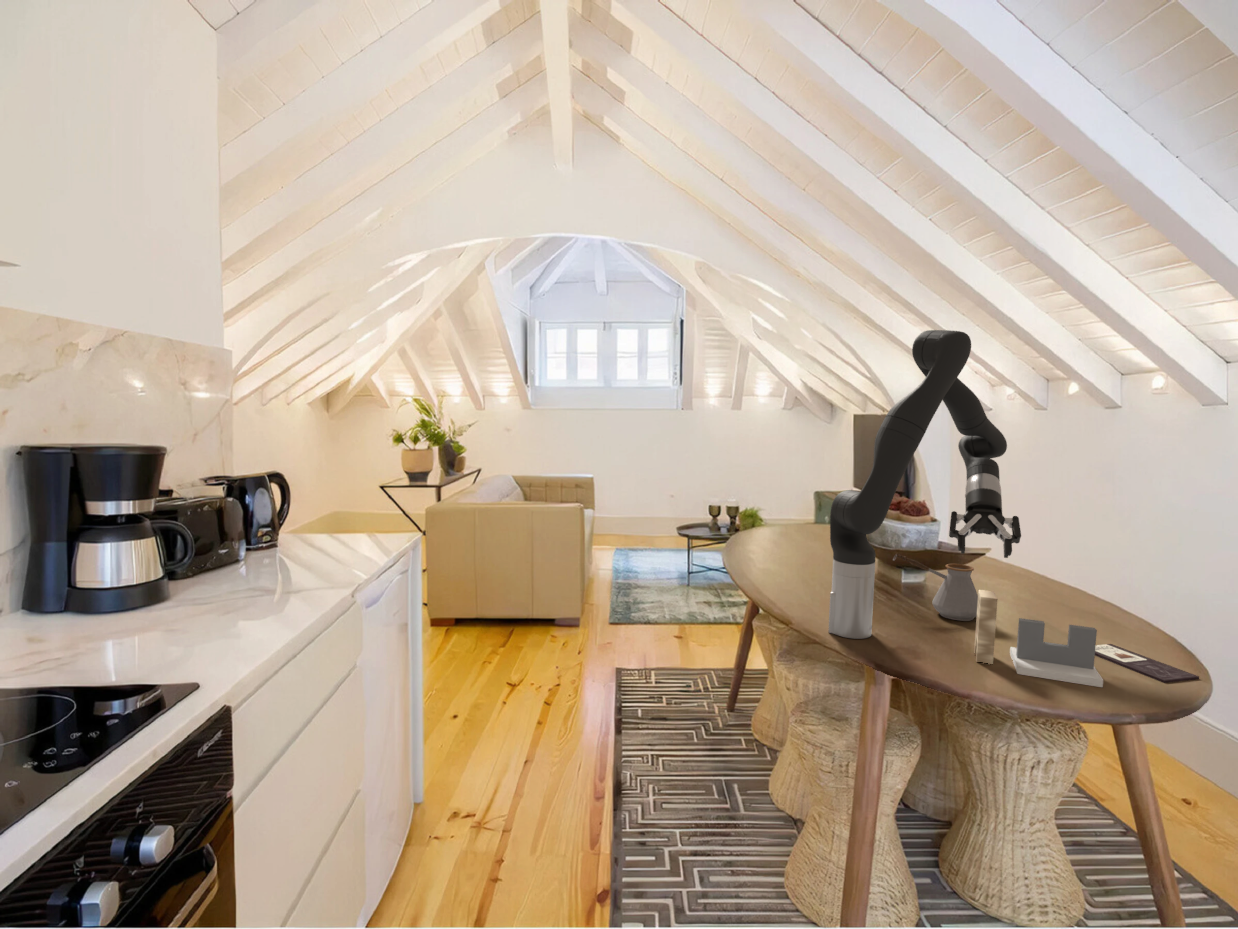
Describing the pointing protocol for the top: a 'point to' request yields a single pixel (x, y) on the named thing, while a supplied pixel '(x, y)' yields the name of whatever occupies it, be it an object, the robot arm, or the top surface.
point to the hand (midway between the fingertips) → (984, 553)
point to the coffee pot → (953, 591)
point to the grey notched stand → (1056, 654)
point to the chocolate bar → (1142, 664)
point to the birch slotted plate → (985, 626)
